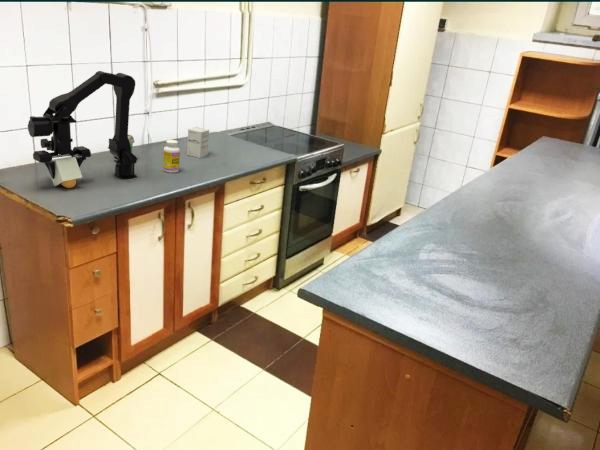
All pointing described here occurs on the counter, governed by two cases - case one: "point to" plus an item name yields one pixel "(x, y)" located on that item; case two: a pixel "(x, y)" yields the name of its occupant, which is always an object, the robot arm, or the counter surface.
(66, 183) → the ball
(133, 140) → the food container
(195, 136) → the supplement box
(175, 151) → the supplement bottle
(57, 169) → the sage green cuboid
